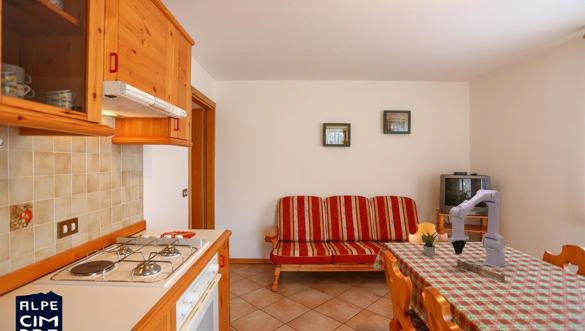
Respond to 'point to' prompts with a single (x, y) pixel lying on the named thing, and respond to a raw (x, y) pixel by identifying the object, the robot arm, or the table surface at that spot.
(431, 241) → the house plant
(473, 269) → the fence panel
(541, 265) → the table surface
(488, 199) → the robot arm
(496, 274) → the fence fixed
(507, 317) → the table surface
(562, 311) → the table surface
